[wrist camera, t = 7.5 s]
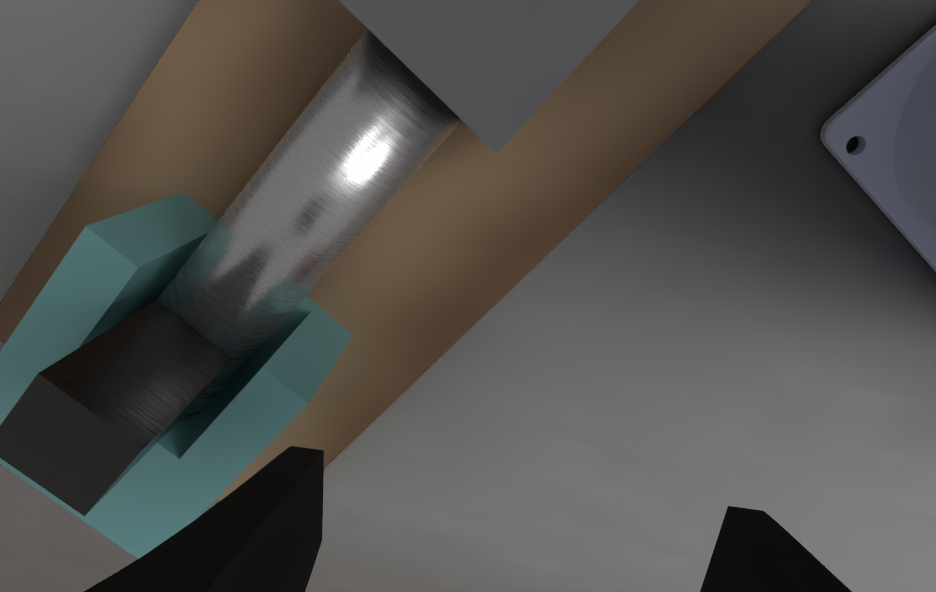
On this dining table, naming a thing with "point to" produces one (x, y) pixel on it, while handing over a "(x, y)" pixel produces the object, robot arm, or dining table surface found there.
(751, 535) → the robot arm
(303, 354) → the teal cradle
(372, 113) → the silver elongated piece
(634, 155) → the walnut board
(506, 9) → the sleeve
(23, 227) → the dining table surface
